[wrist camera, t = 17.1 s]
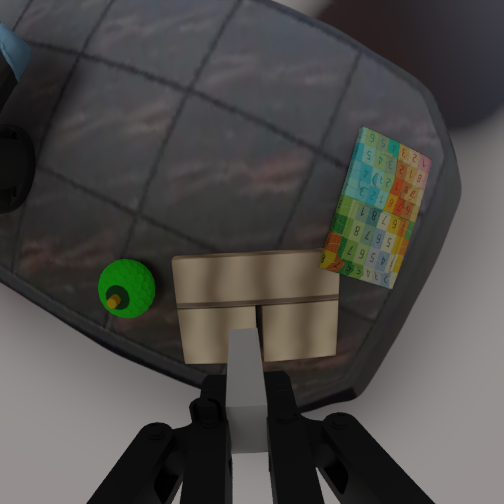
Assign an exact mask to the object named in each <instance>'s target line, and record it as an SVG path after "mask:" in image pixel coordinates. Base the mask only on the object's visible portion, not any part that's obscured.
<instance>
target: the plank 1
mask: <svg viewBox="0 0 504 504" xmlns="http://www.w3.org/2000/svg"><path fill="white" fill-rule="evenodd" d="M178 317H179V325H180V332H181V339H182V345H183V352H184V358H185V364H205V363H228V349H229V331H230V329H248V328H256V313H255V305H241V306H220V307H195V308H178Z"/></svg>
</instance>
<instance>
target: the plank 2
mask: <svg viewBox="0 0 504 504" xmlns="http://www.w3.org/2000/svg"><path fill="white" fill-rule="evenodd" d="M261 306H262V331H263V355H264V362H268V361H281V360H293V359H303V358H313V357H322V356H331V355H336V340H337V321H338V300H337V299H328V300H316V301H303V302H290V303H275V304H261Z"/></svg>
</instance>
